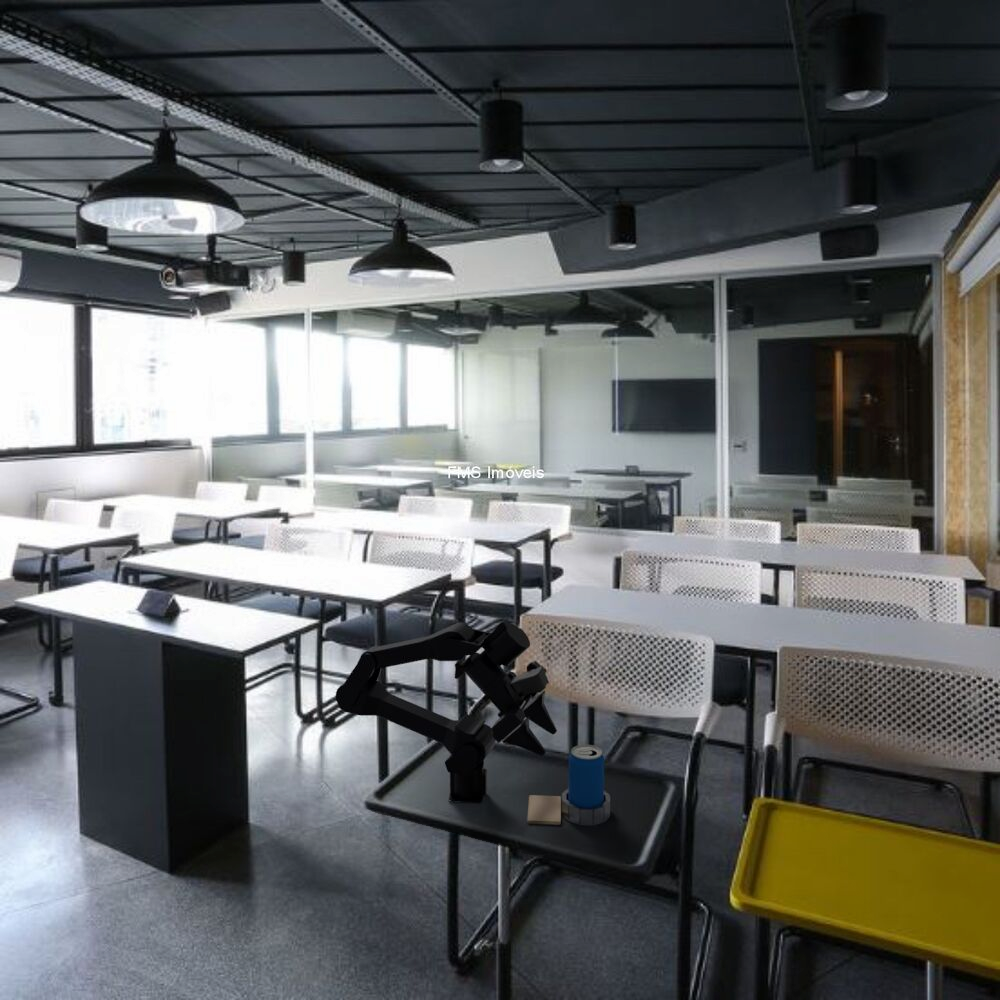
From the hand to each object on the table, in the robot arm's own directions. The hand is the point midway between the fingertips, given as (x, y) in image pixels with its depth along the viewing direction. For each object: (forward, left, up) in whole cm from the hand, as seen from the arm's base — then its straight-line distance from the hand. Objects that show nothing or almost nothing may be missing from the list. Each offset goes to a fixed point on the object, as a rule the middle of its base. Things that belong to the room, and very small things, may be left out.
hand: (549, 743), depth 152 cm
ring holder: (+7, -2, -13) cm, 14 cm away
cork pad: (-1, -2, -13) cm, 13 cm away
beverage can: (+7, -2, -13) cm, 15 cm away
